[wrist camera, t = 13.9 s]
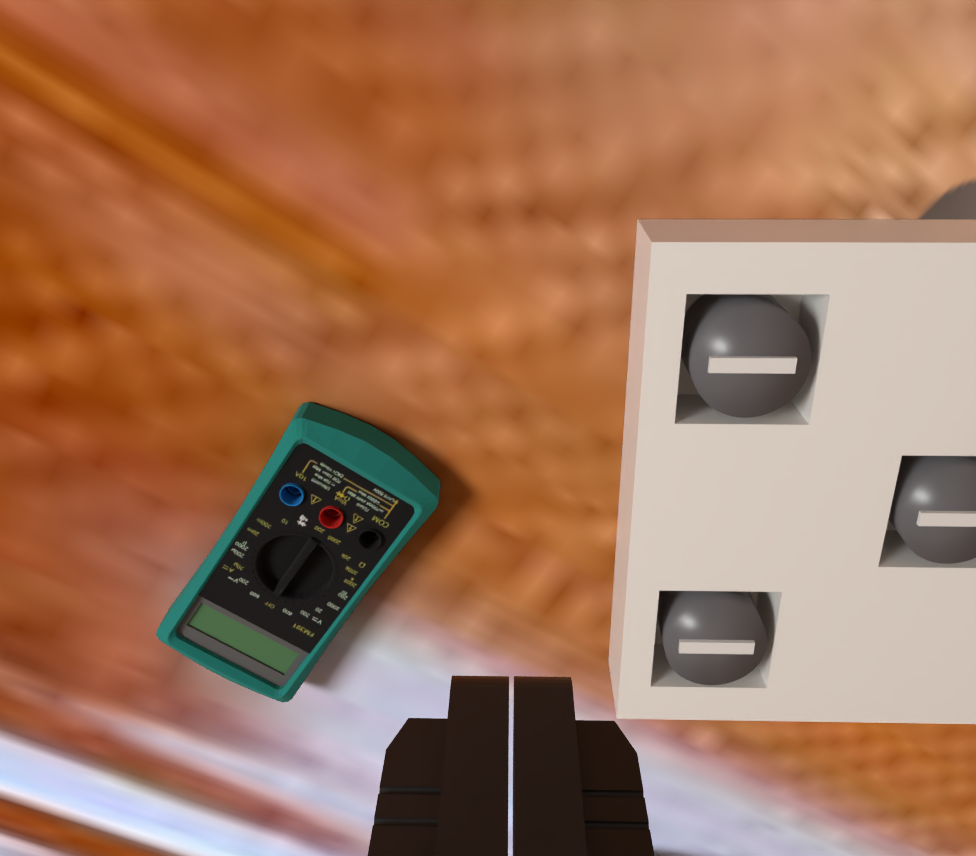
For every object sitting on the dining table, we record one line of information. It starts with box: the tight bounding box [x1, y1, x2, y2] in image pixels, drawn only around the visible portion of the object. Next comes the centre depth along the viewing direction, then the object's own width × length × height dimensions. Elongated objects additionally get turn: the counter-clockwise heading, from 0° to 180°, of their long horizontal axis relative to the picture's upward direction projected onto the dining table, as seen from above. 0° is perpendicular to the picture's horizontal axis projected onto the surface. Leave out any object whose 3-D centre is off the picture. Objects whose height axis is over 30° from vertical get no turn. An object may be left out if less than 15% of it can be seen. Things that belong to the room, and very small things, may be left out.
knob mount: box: [608, 219, 976, 724], centre depth 38 cm, size 22×17×4 cm
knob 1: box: [681, 294, 812, 418], centre depth 34 cm, size 4×4×3 cm
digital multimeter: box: [156, 402, 441, 702], centre depth 41 cm, size 7×15×3 cm, turn 146°
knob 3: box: [888, 455, 976, 564], centre depth 37 cm, size 4×4×3 cm
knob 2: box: [657, 591, 767, 685], centre depth 40 cm, size 4×4×3 cm
